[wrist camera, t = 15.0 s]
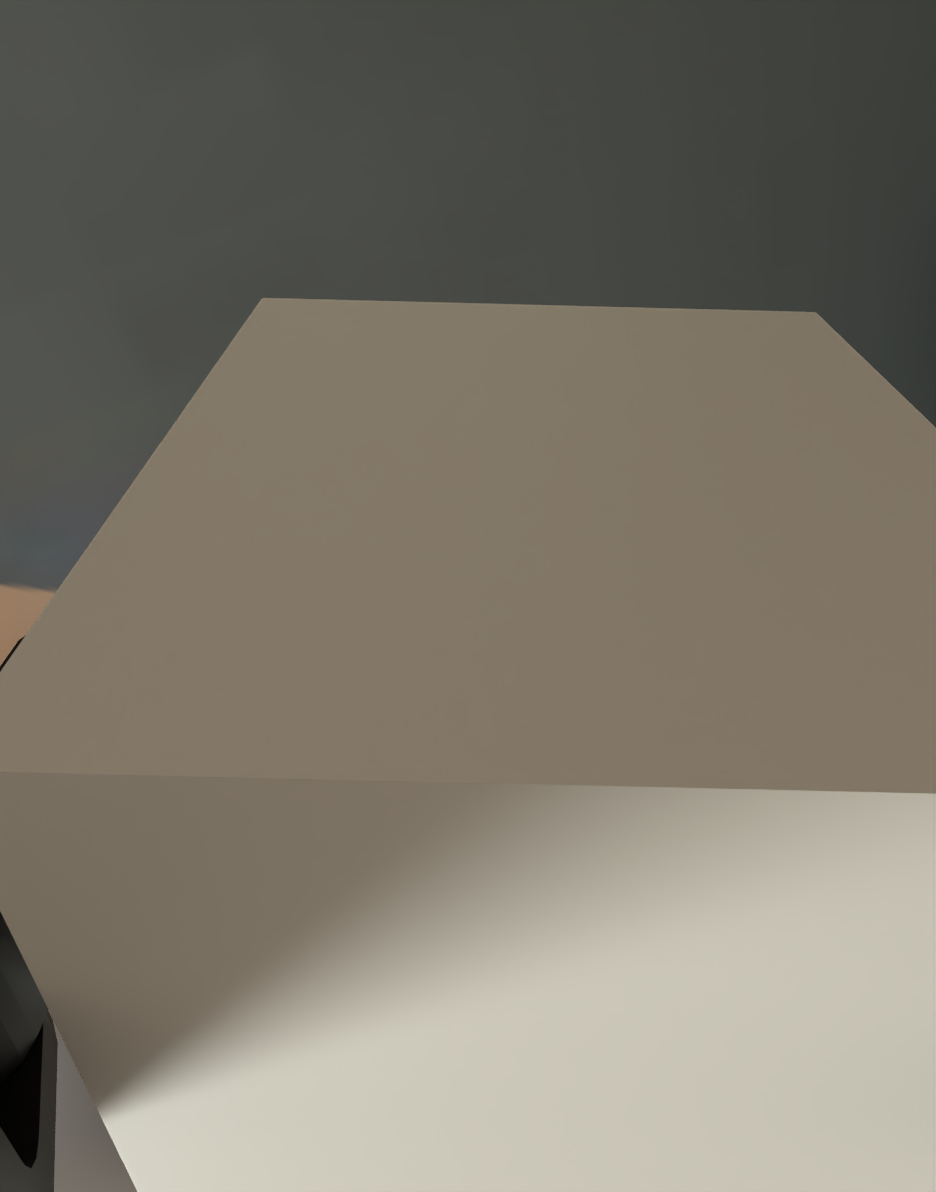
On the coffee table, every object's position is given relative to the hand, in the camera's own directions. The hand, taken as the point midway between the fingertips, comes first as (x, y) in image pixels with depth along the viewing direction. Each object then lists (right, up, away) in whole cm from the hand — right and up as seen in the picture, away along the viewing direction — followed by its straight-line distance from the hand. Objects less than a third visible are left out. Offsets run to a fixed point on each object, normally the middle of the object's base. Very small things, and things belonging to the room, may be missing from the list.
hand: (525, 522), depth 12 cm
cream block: (0, 0, 0) cm, 0 cm away
